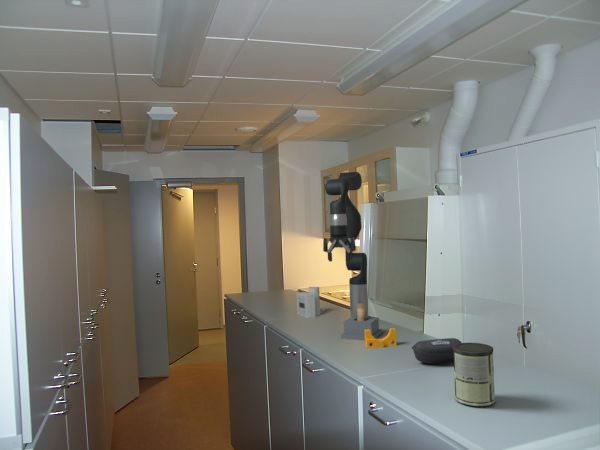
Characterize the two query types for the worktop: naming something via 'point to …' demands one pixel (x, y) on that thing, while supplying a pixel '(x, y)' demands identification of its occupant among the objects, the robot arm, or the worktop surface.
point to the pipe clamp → (378, 343)
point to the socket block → (360, 328)
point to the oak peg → (361, 312)
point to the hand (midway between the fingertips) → (339, 261)
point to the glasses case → (435, 350)
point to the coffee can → (474, 374)
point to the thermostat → (309, 303)
